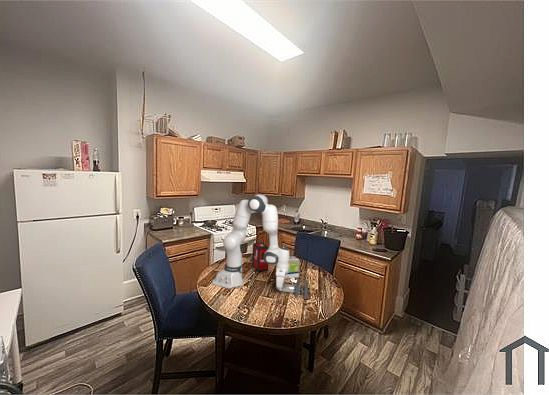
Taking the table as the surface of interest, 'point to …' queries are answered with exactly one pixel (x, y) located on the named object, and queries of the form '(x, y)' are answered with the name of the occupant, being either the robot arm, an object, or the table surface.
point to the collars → (305, 288)
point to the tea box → (293, 267)
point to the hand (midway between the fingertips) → (281, 287)
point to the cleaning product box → (259, 257)
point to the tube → (290, 288)
